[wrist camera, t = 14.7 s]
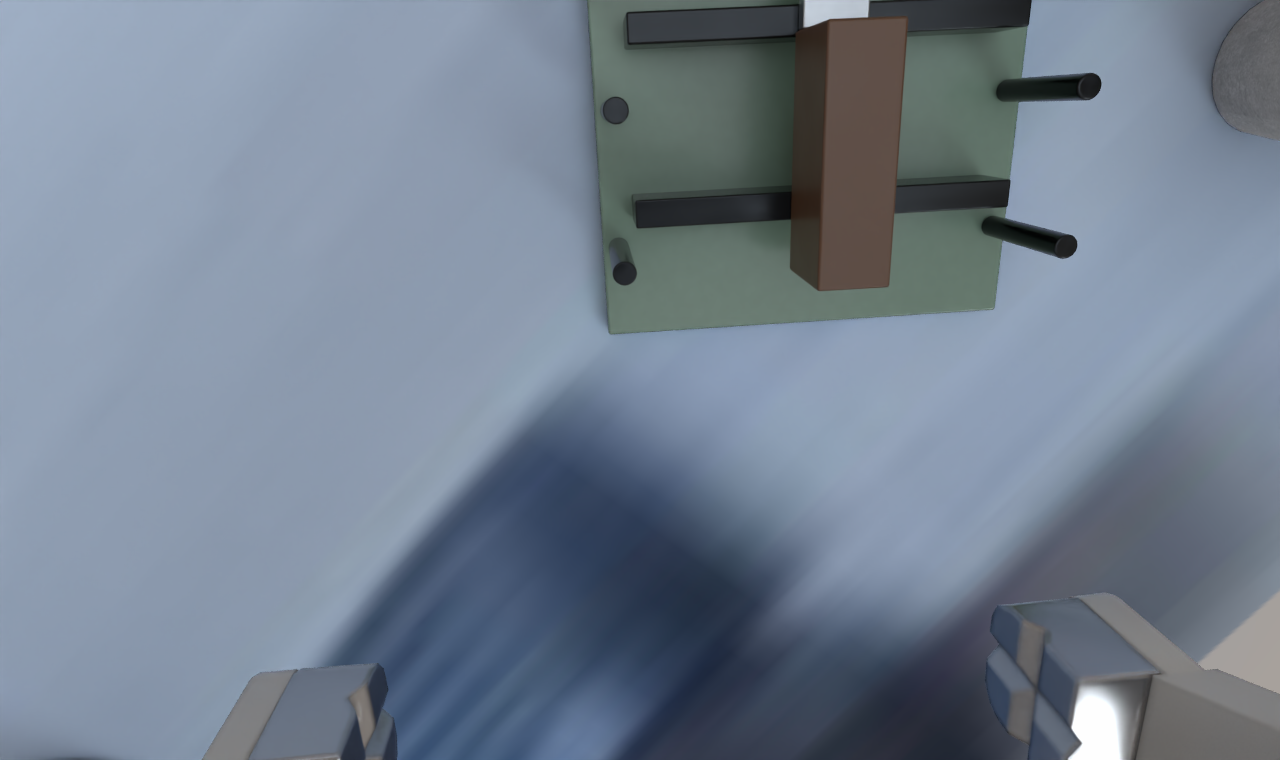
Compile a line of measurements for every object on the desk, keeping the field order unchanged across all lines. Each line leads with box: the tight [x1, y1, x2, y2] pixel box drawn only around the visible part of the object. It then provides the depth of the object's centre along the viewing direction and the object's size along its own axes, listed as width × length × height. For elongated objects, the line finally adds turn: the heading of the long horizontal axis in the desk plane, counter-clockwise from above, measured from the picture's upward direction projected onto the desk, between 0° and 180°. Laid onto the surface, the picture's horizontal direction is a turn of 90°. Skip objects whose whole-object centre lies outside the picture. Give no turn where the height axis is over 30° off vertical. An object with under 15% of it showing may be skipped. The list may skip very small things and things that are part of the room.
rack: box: [587, 0, 1101, 334], centre depth 25 cm, size 22×16×6 cm
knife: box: [790, 0, 908, 291], centre depth 23 cm, size 17×2×4 cm, turn 2°
